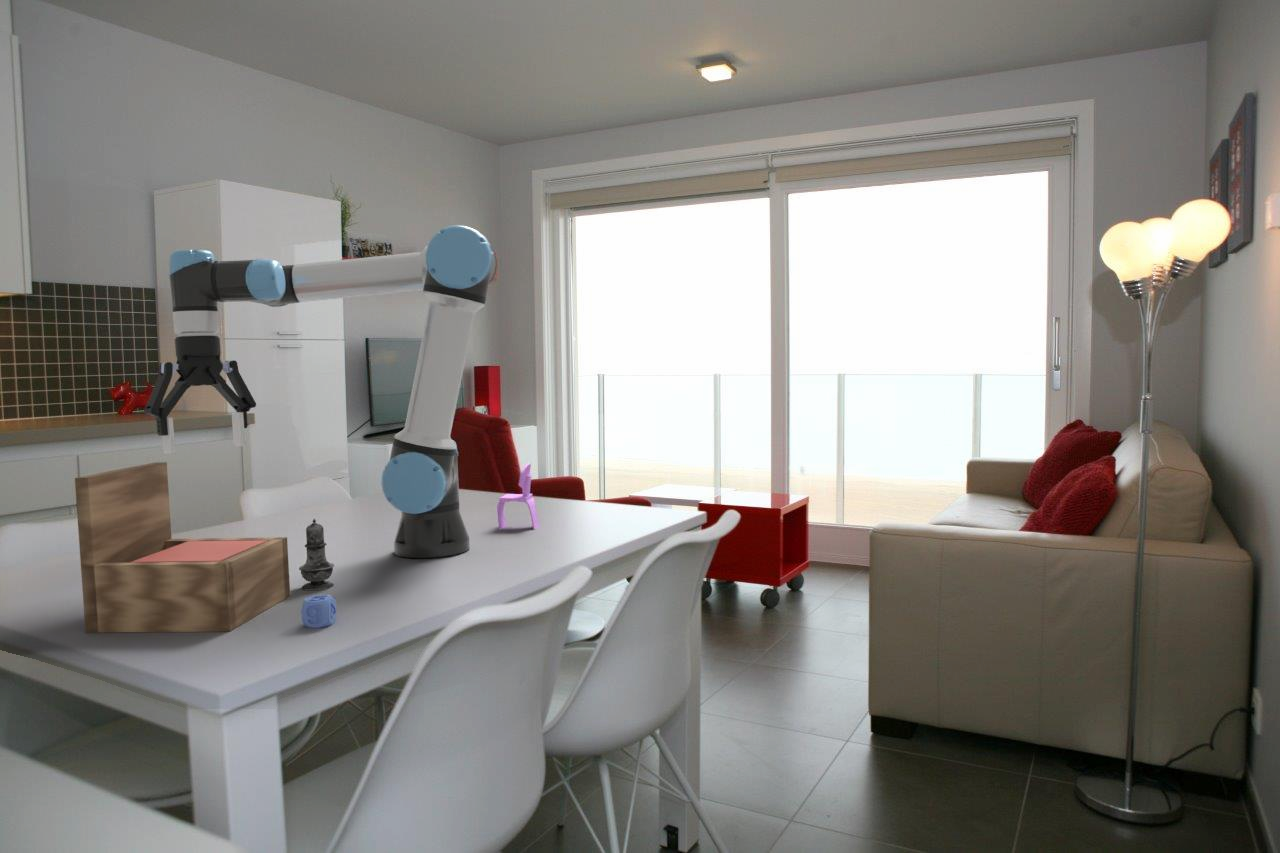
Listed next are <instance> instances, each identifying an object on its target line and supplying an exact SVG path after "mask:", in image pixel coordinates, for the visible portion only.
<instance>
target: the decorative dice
mask: <svg viewBox="0 0 1280 853" xmlns="http://www.w3.org/2000/svg"><path fill="white" fill-rule="evenodd" d="M302 602H303V603H302V606H301V621H302V623H303V625H304V626H305V627H306V628H309V629H319V628H320V629H321V627H322V628H326V626H327V627H331V625H333V624H335V621H336V619H337V618H336V617H337V602H336V599H335V598H334V597H333V596H332V595H329V594H317V595H312V596H309V597H306V598H305V599H304V600H303V601H302Z"/></svg>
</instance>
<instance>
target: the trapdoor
mask: <svg viewBox="0 0 1280 853" xmlns="http://www.w3.org/2000/svg"><path fill="white" fill-rule="evenodd" d="M267 541H268V540H247V541H188V542H185V543H182V544H179V545H176V546H174V547H171V548H168V549H165V550H163V551H160V552H157V553H154V554H151V555H149V556H146V557H143V558H140V559H138V560H135V561H132V562H131V563H133V562H216V561H223V560H225V559H227V558H230V557H232V556H234V555H237V554H239V553H241V552H244V551H246V550H248V549H251V548H253V547H255V546H258V545H260V544H263V543H265V542H267Z"/></svg>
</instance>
